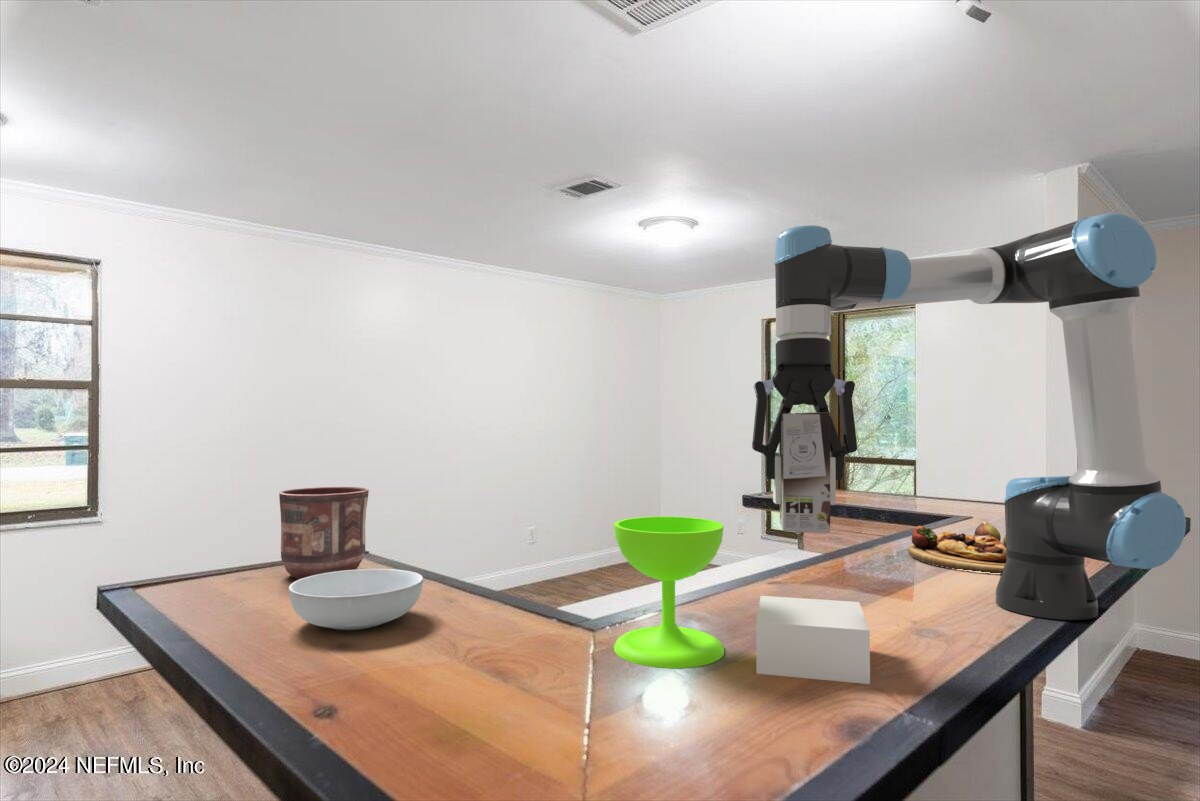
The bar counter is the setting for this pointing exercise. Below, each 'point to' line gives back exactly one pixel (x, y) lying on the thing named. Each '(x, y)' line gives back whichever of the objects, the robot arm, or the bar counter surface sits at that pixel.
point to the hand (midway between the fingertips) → (803, 503)
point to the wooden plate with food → (961, 549)
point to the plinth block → (812, 639)
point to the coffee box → (805, 472)
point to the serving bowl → (355, 597)
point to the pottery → (322, 529)
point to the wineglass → (668, 587)
